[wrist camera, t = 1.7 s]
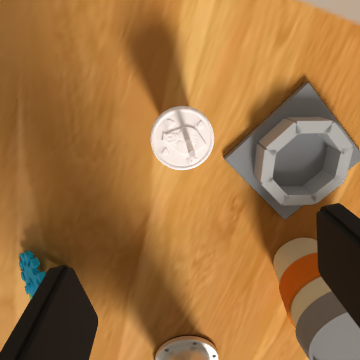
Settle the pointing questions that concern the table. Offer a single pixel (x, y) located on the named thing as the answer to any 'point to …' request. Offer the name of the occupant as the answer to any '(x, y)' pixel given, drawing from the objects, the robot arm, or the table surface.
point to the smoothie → (182, 138)
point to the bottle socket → (295, 153)
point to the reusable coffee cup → (314, 304)
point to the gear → (30, 272)
